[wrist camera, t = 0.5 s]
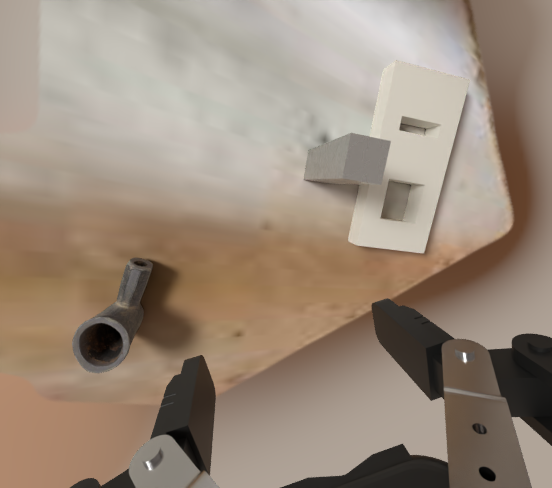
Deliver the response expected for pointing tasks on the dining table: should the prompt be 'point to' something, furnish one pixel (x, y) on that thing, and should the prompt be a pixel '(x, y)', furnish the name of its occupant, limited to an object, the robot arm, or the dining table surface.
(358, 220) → the socket plank
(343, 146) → the gray square peg
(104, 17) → the dining table surface
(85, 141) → the dining table surface
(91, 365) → the pipe
